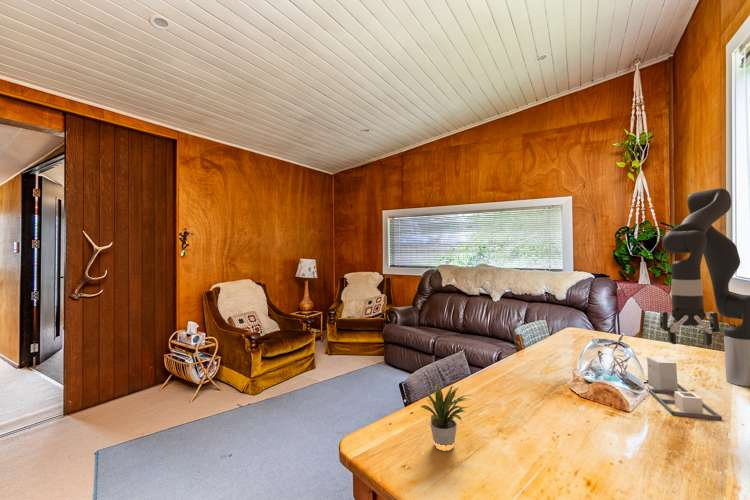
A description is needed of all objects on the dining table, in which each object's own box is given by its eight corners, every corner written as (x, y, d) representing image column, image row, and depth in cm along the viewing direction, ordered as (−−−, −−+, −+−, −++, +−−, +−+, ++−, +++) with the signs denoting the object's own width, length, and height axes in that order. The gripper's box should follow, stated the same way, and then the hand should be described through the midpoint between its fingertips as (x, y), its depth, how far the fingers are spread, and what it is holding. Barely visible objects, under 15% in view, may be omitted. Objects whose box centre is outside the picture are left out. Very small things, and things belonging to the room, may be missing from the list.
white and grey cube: (675, 406, 114) (674, 390, 114) (694, 408, 113) (693, 392, 113) (683, 413, 110) (682, 396, 110) (702, 414, 108) (702, 398, 108)
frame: (637, 381, 137) (637, 379, 137) (676, 384, 132) (675, 382, 132) (672, 414, 108) (671, 411, 108) (721, 420, 104) (721, 416, 104)
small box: (678, 392, 125) (676, 363, 125) (660, 392, 126) (659, 362, 126) (664, 384, 133) (663, 356, 133) (647, 384, 134) (646, 356, 134)
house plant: (461, 470, 83) (458, 401, 84) (409, 455, 91) (407, 391, 91) (478, 443, 95) (475, 382, 96) (430, 431, 103) (428, 375, 103)
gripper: (709, 292, 113) (711, 342, 113) (655, 292, 118) (657, 340, 118) (722, 294, 106) (725, 348, 106) (664, 294, 111) (667, 346, 111)
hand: (689, 344), depth 112 cm, fingers open, 8 cm apart
